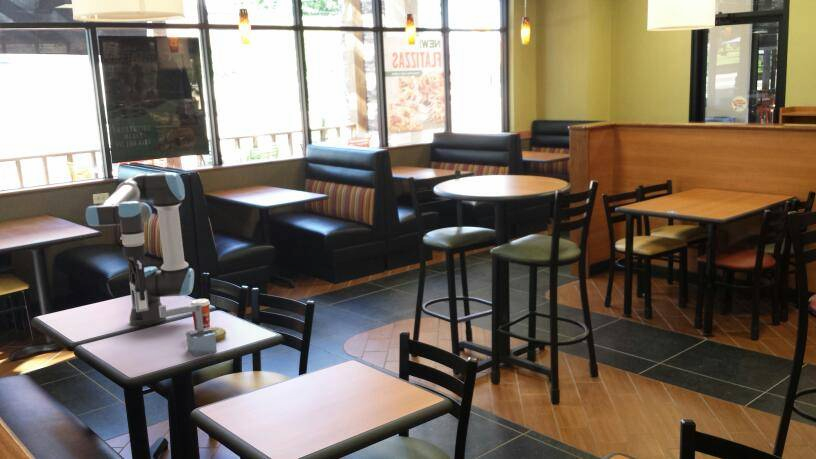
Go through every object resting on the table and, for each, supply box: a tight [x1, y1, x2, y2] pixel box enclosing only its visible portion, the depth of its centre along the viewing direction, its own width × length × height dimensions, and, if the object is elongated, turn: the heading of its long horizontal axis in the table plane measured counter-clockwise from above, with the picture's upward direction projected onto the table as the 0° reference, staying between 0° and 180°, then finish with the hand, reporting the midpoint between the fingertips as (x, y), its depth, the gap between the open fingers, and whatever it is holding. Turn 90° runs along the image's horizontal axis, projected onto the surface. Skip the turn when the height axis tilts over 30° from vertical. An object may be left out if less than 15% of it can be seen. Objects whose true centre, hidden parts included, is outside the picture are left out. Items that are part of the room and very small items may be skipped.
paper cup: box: [190, 298, 211, 330], centre depth 299 cm, size 8×8×14 cm
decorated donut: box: [210, 326, 227, 342], centre depth 294 cm, size 10×11×4 cm
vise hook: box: [159, 304, 218, 357], centre depth 275 cm, size 10×18×20 cm, turn 124°
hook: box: [129, 281, 149, 312], centre depth 267 cm, size 7×4×10 cm, turn 33°
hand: (140, 306), depth 268 cm, fingers closed on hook, 7 cm apart
